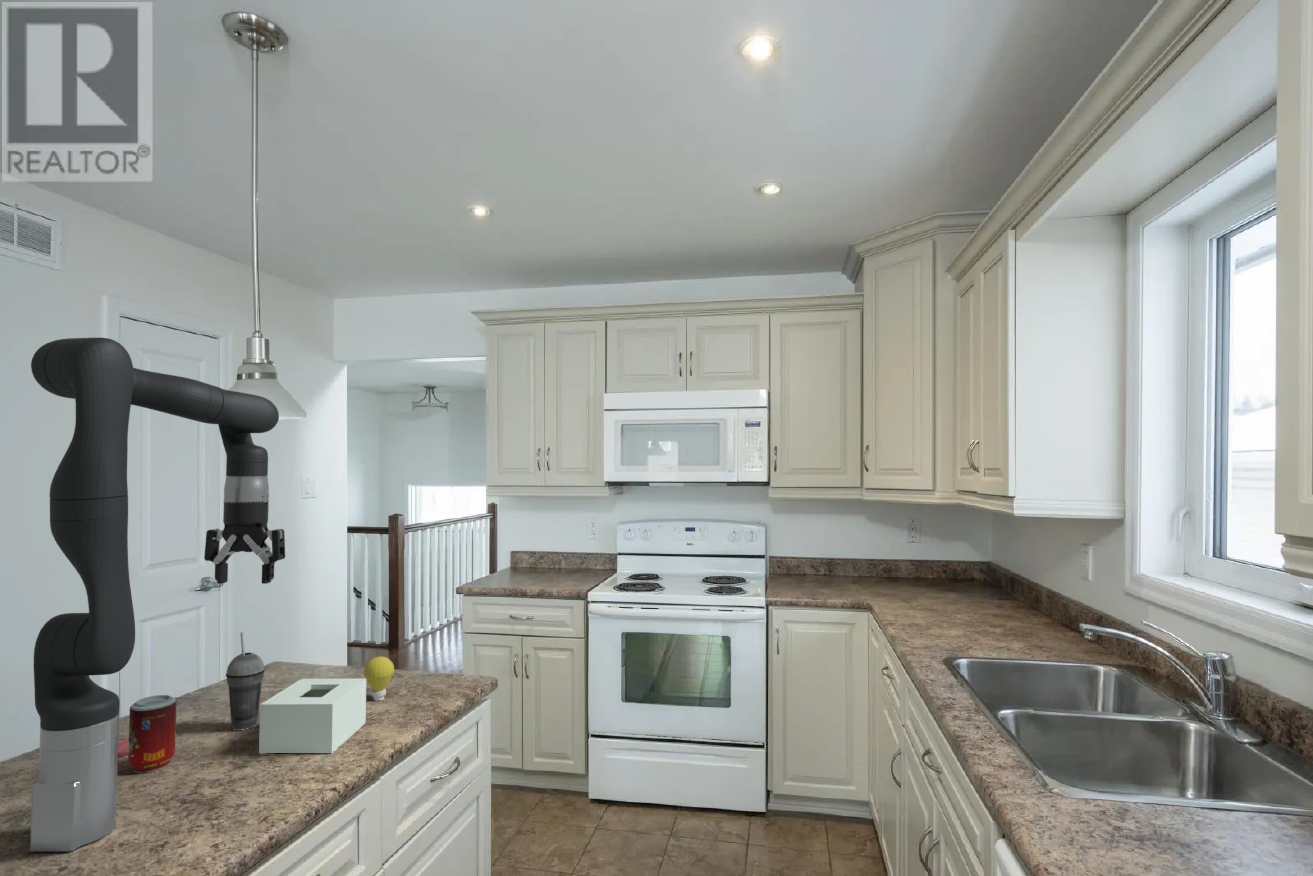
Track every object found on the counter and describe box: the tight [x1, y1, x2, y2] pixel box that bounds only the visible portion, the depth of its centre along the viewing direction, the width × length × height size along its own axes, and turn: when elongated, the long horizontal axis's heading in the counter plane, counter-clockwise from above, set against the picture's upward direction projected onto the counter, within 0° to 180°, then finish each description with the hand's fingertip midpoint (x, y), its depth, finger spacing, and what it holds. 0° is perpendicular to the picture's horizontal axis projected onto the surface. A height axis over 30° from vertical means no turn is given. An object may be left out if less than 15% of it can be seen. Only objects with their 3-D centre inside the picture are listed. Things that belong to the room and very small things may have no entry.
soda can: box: [127, 694, 178, 774], centre depth 127 cm, size 7×7×12 cm
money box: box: [258, 677, 367, 754], centre depth 141 cm, size 16×14×10 cm
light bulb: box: [363, 656, 395, 702], centre depth 164 cm, size 7×7×10 cm
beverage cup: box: [225, 631, 266, 730], centre depth 147 cm, size 7×7×20 cm
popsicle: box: [118, 736, 129, 760], centre depth 138 cm, size 5×2×15 cm
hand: (244, 583), depth 133 cm, fingers open, 8 cm apart
